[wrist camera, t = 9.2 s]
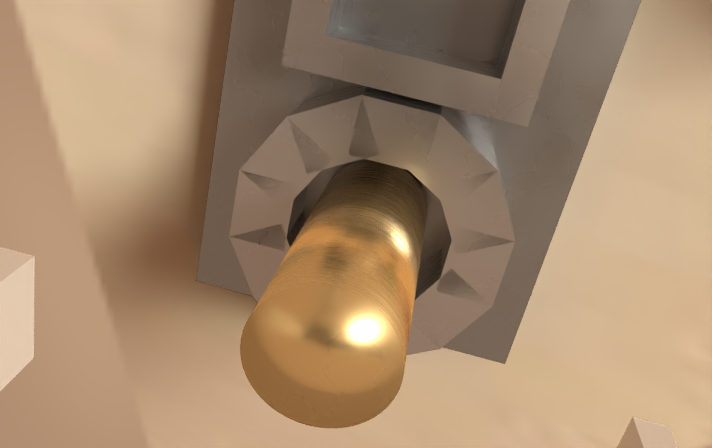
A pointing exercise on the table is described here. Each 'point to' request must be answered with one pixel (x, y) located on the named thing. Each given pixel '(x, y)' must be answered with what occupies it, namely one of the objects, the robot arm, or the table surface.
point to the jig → (412, 139)
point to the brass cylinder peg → (341, 302)
